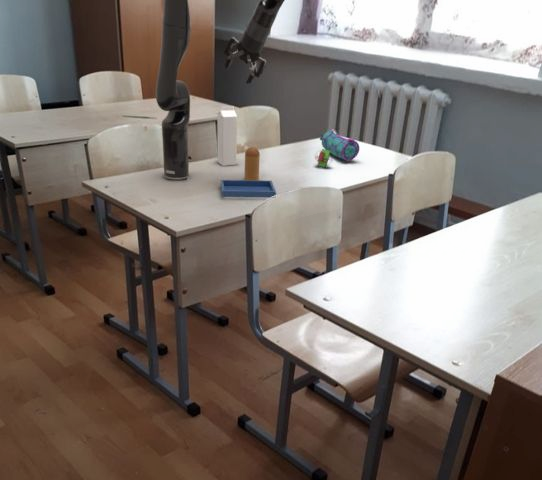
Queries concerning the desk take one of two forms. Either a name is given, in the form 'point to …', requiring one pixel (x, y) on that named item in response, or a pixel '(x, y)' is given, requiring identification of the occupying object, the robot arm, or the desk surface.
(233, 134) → the milk
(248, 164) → the orange rounded cylinder
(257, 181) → the tray
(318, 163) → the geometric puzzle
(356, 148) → the pencil case
